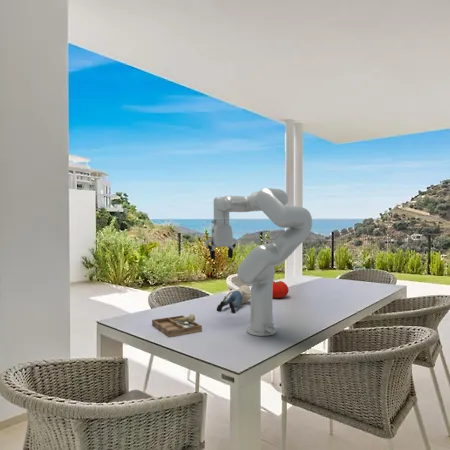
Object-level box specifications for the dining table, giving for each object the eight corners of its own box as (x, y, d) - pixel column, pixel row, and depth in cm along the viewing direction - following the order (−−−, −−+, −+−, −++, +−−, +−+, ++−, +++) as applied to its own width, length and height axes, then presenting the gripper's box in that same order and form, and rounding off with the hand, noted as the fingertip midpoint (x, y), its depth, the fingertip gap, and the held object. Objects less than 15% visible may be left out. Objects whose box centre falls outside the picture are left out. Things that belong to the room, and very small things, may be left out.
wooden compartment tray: (201, 331, 165) (201, 325, 165) (169, 337, 157) (168, 331, 157) (182, 320, 183) (182, 315, 183) (152, 325, 175) (152, 319, 175)
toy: (246, 319, 194) (265, 302, 221) (245, 299, 193) (265, 285, 220) (206, 314, 204) (229, 298, 231) (205, 295, 203) (229, 282, 230)
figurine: (171, 326, 176) (192, 325, 166) (170, 316, 177) (190, 314, 167) (177, 324, 179) (198, 323, 169) (176, 315, 179) (196, 313, 169)
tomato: (285, 294, 245) (285, 279, 245) (290, 300, 229) (290, 283, 228) (263, 294, 244) (263, 279, 244) (266, 300, 228) (266, 283, 228)
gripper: (209, 223, 173) (209, 260, 174) (240, 222, 182) (241, 258, 182) (201, 222, 180) (202, 258, 180) (232, 222, 189) (232, 256, 189)
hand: (221, 258), depth 181 cm, fingers open, 9 cm apart
